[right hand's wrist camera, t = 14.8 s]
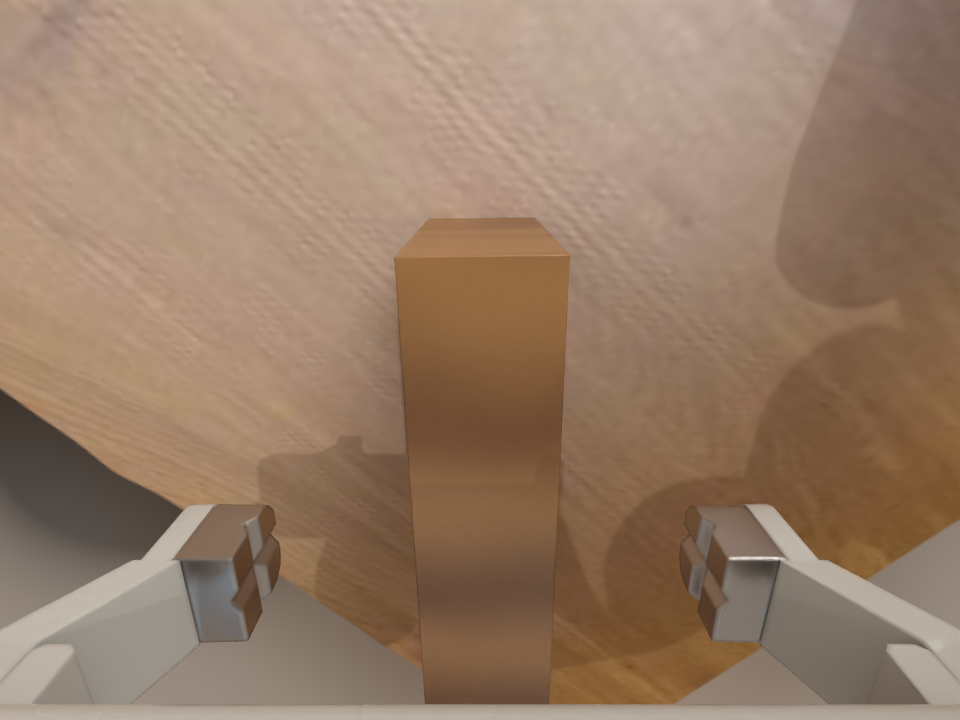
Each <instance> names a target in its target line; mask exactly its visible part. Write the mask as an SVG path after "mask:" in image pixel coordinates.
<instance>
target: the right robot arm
mask: <svg viewBox="0 0 960 720" xmlns="http://www.w3.org/2000/svg"><path fill="white" fill-rule="evenodd" d="M275 524H276V521H275V516H274V511H273V509H272V508H271V507H270V506H269V505H234V504H219V505H217V504H193V505H190V506H187V507H186V508H185V509H184V511H183V512H182V513H181V514H180V515H179V517H178V518H177V519H176V520H175V521H174V522H173V523H172V525H171V526H170V527H169V528H168V529H167V531H166V532H165V533H164V534H163V535H162V536H161V538H160V539H159V540H158V541H157V542H156V543H155V545H154V546H153V547H152V548H151V549H150V550H149V551H148V553H147V554H146V555H145V556H144V557H143V558H142V560H132V561H130V562H128V563H126V564H124V565H122V566H121V567H119V568H117V569H115V570H113V571H111V572H109V573H107V574H105V575H103V576H101V577H100V578H98V579H96V580H94V581H92V582H90V583H88V584H86V585H84V586H82V587H80V588H79V589H77V590H75V591H73V592H71V593H69V594H67V595H65V596H63V597H61V598H59V599H57V600H56V601H54V602H52V603H50V604H48V605H46V606H44V607H42V608H40V609H38V610H36V611H34V612H33V613H31V614H29V615H27V616H25V617H23V618H21V619H19V620H17V621H15V622H13V623H11V624H10V625H8V626H6V627H4V628H2V629H0V720H960V629H958V628H956V627H954V626H952V625H950V624H948V623H946V622H944V621H942V620H941V619H939V618H937V617H935V616H933V615H931V614H929V613H927V612H925V611H923V610H921V609H920V608H918V607H916V606H914V605H912V604H910V603H908V602H906V601H904V600H902V599H900V598H899V597H897V596H895V595H893V594H891V593H889V592H887V591H885V590H883V589H881V588H879V587H878V586H876V585H874V584H872V583H870V582H868V581H866V580H864V579H862V578H860V577H858V576H857V575H855V574H853V573H851V572H849V571H847V570H845V569H843V568H841V567H839V566H838V565H836V564H834V563H832V562H830V561H828V560H818V558H817V557H816V556H815V555H814V554H813V553H812V551H811V550H810V549H809V548H808V547H807V546H806V544H805V543H804V542H803V541H802V540H801V539H800V537H799V536H798V535H797V534H796V533H795V532H794V530H793V529H792V528H791V527H790V526H789V525H788V523H787V522H786V521H785V520H784V519H783V518H782V516H781V515H780V514H779V513H778V512H777V511H776V510H775V508H774V507H772V506H770V505H768V504H743V505H721V506H689V508H688V510H687V512H686V515H685V521H684V524H685V526H686V528H687V530H688V531H689V533H690V534H689V535H688V536H687V537H686V538H685V539H684V540H683V541H682V542H681V546H680V555H679V560H680V571H681V575H682V578H683V582H684V584H685V586H686V588H687V590H688V593H690V594H691V595H692V596H694V597H695V598H697V599H698V600H699V606H698V613H699V615H700V617H701V619H702V621H703V624H704V626H705V628H706V630H707V632H708V634H709V636H710V638H711V640H712V641H723V642H758V643H760V645H761V646H762V647H763V648H764V649H765V650H767V651H768V652H769V653H770V654H771V655H772V656H773V657H775V658H776V659H777V660H778V661H779V662H780V663H782V664H783V665H784V666H785V667H786V668H787V669H788V670H790V671H791V672H792V673H793V674H794V675H795V676H797V677H798V678H799V679H800V680H801V681H802V682H804V683H805V684H806V685H807V686H808V687H809V688H811V689H812V690H813V691H814V692H815V693H816V694H817V695H819V696H820V697H821V698H822V699H823V700H824V701H826V702H827V703H828V704H132V703H133V702H135V701H136V700H137V699H138V698H139V697H140V696H142V695H143V694H144V693H145V692H146V691H147V690H149V689H150V688H151V687H152V686H153V685H154V684H155V683H157V682H158V681H159V680H160V679H161V678H162V677H164V676H165V675H166V674H167V673H168V672H169V671H171V670H172V669H173V668H174V667H175V666H176V665H178V664H179V663H180V662H181V661H182V660H183V659H184V658H186V657H187V656H188V655H189V654H190V653H191V652H193V651H194V650H195V649H196V648H197V647H198V646H199V645H200V643H201V642H236V641H248V640H249V638H250V636H251V634H252V632H253V630H254V628H255V625H256V624H257V622H258V619H259V617H260V615H261V613H262V606H261V600H262V599H263V598H265V597H266V596H268V595H269V594H270V593H272V590H273V588H274V586H275V584H276V582H277V578H278V574H279V569H280V556H281V553H280V546H279V542H278V541H277V540H276V539H275V538H274V537H273V536H272V535H271V534H270V533H271V532H272V530H273V528H274V526H275Z"/></svg>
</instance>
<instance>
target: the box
mask: <svg viewBox="0 0 960 720" xmlns="http://www.w3.org/2000/svg"><path fill="white" fill-rule="evenodd" d="M569 259H570V255H569V254H568V253H567V252H566V251H565V250H564V249H563V247H562V246H561V245H560V244H559V243H558V242H557V241H556V240H555V239H554V238H553V237H552V236H551V235H550V234H549V233H548V232H547V231H546V229H545V228H544V227H543V226H542V225H541V224H540V223H539V222H538V221H537V220H536V219H535V218H479V219H428V220H427V221H426V223H425V224H424V225H423V226H422V227H421V228H420V229H419V230H418V232H417V233H416V234H415V235H414V236H413V237H412V238H411V239H410V240H409V242H408V243H407V244H406V245H405V246H404V247H403V248H402V249H401V251H400V252H399V253H398V254H397V255H396V256H395V273H396V287H397V302H398V316H399V331H400V346H401V360H402V375H403V389H404V404H405V418H406V433H407V448H408V462H409V477H410V491H411V506H412V520H413V535H414V550H415V564H416V579H417V593H418V608H419V622H420V637H421V652H422V666H423V681H424V695H425V704H549V695H550V673H551V651H552V629H553V608H554V586H555V564H556V542H557V520H558V499H559V477H560V455H561V433H562V411H563V390H564V368H565V346H566V324H567V302H568V281H569Z"/></svg>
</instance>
